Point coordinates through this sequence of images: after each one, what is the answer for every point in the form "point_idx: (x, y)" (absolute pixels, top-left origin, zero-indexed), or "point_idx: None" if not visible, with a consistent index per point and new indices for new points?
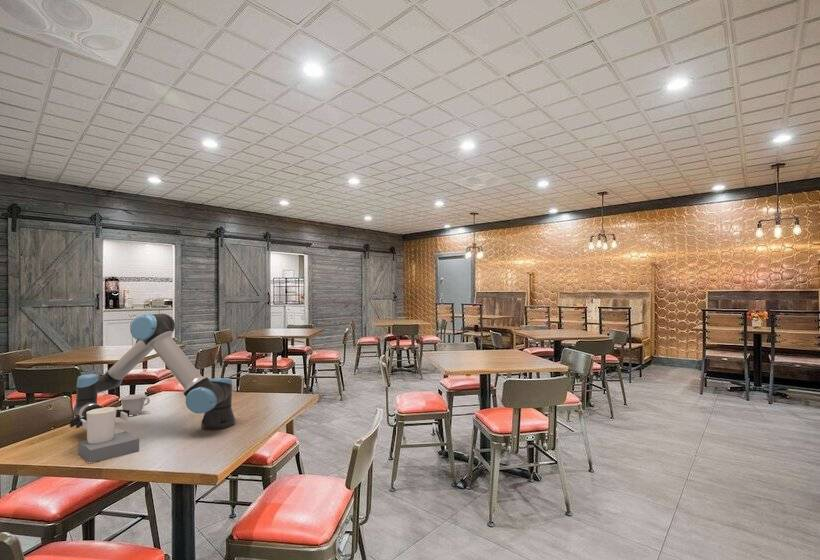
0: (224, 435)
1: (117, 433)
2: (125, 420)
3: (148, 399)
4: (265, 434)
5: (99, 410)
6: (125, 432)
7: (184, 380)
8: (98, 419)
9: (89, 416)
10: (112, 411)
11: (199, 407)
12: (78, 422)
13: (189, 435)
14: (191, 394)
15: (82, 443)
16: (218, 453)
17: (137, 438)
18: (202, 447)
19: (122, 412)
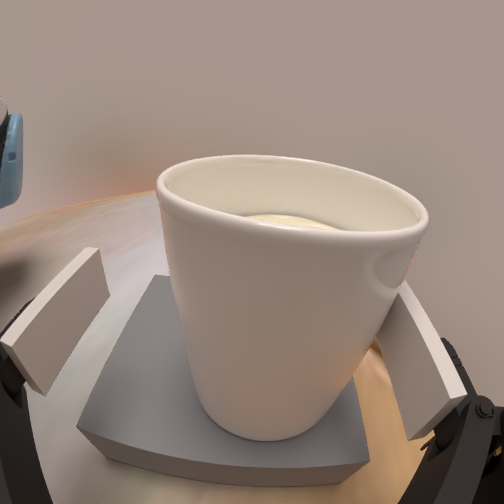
0: (23, 249)
1: (127, 435)
2: (107, 293)
3: None
4: (31, 216)
5: (293, 261)
6: (94, 406)
7: None
8: (321, 207)
9: (381, 204)
10: (239, 160)
11: (20, 176)
12: (454, 353)
13: (8, 304)
14: (18, 131)
15: (354, 404)
16: (126, 209)
17: (156, 280)
18: (99, 234)
19: (32, 313)
